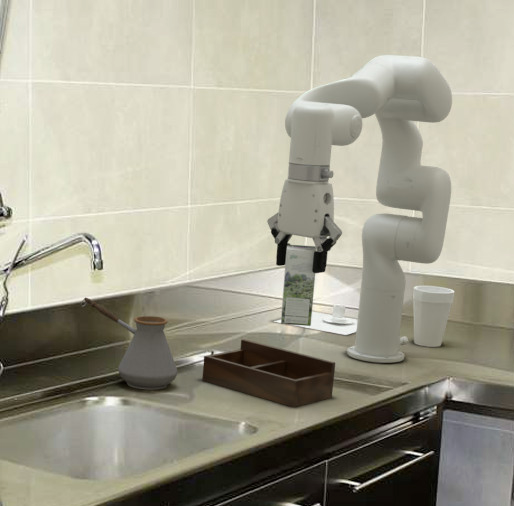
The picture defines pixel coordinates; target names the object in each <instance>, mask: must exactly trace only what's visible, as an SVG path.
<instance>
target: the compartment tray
mask: <svg viewBox="0 0 514 506" xmlns="http://www.w3.org/2000/svg"><path fill="white" fill-rule="evenodd" d="M335 370H336V362H335V361H332V360H328V359H324V358H320V357H315V356H312V355H309V354H304V353H300V352H297V351H293V350H289V349H284V348H280V347H277V346H272V345H269V344H265V343H261V342H257V341H254V340H250V339H246V338H243V339H242V338H241V339H240V349H234V350H230V351H224V352H218V353H212V354H207V355H204V356H203V367H202V378H201V379H202V382H207V383H210V384H213V385H217V386H220V387H224V388H227V389H230V390H234V391H237V392H240V393H244V394H246V395H251V396H254V397H257V398H260V399H264V400H267V401H271V402H275V403H278V404H280V405H285V406H288V407H292V408H296V407H299V406H304V405H308V404H311V403H316V402H320V401H324V400H327V399H332V398H333V390H334V380H335V373H336V371H335Z"/></svg>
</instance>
